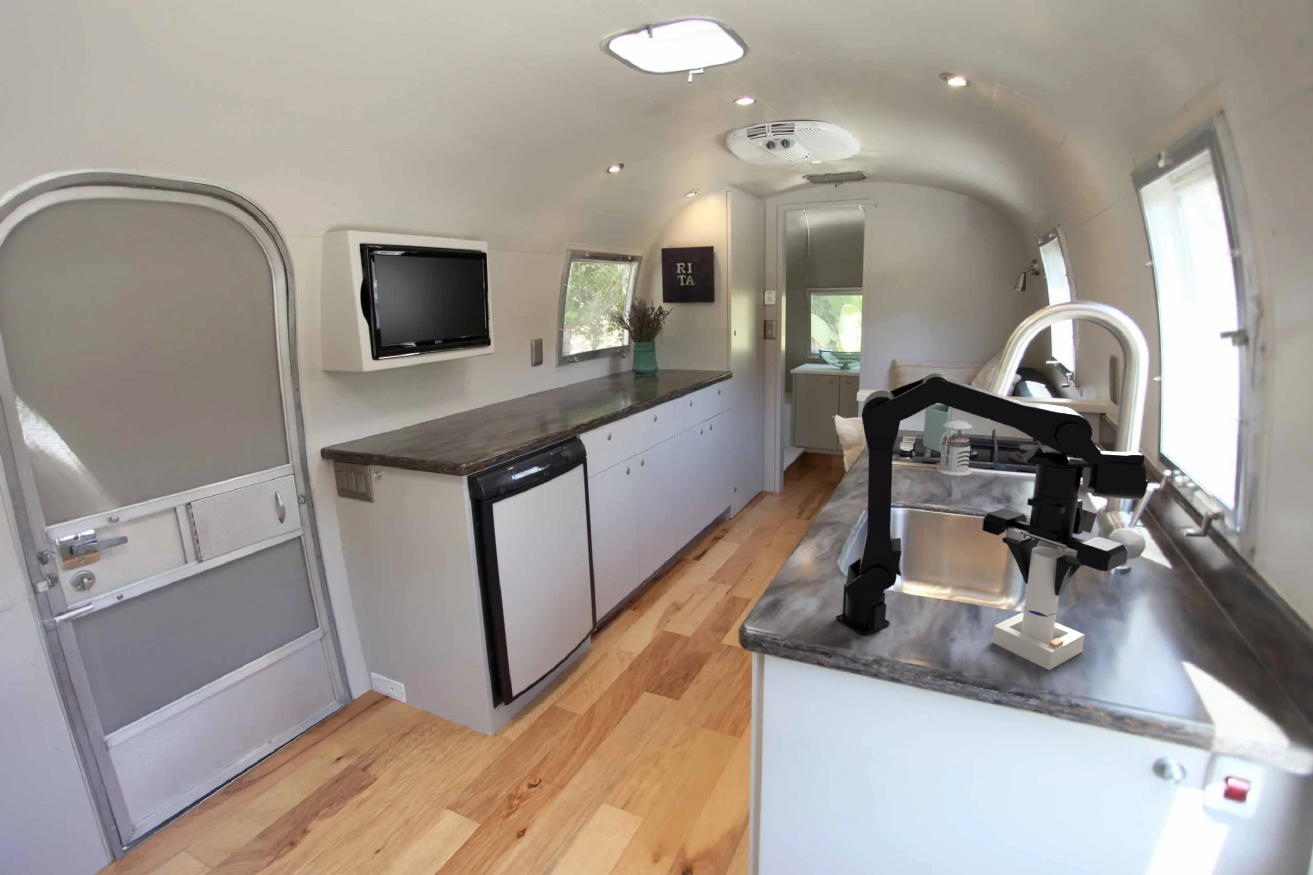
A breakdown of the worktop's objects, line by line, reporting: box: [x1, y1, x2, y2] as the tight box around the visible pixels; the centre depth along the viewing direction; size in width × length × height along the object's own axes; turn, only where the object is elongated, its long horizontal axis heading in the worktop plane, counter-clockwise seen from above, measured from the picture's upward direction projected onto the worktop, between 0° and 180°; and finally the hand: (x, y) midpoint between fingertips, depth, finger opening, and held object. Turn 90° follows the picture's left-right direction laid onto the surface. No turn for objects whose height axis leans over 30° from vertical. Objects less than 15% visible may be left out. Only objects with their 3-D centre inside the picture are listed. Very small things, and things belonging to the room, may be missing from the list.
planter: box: [922, 404, 953, 453], centre depth 219 cm, size 16×8×20 cm, turn 153°
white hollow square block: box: [991, 611, 1085, 671], centre depth 102 cm, size 9×9×4 cm
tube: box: [1021, 546, 1065, 644], centre depth 100 cm, size 4×4×15 cm
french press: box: [935, 409, 973, 476], centre depth 191 cm, size 10×12×25 cm
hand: (1043, 588), depth 100 cm, fingers closed on tube, 4 cm apart
